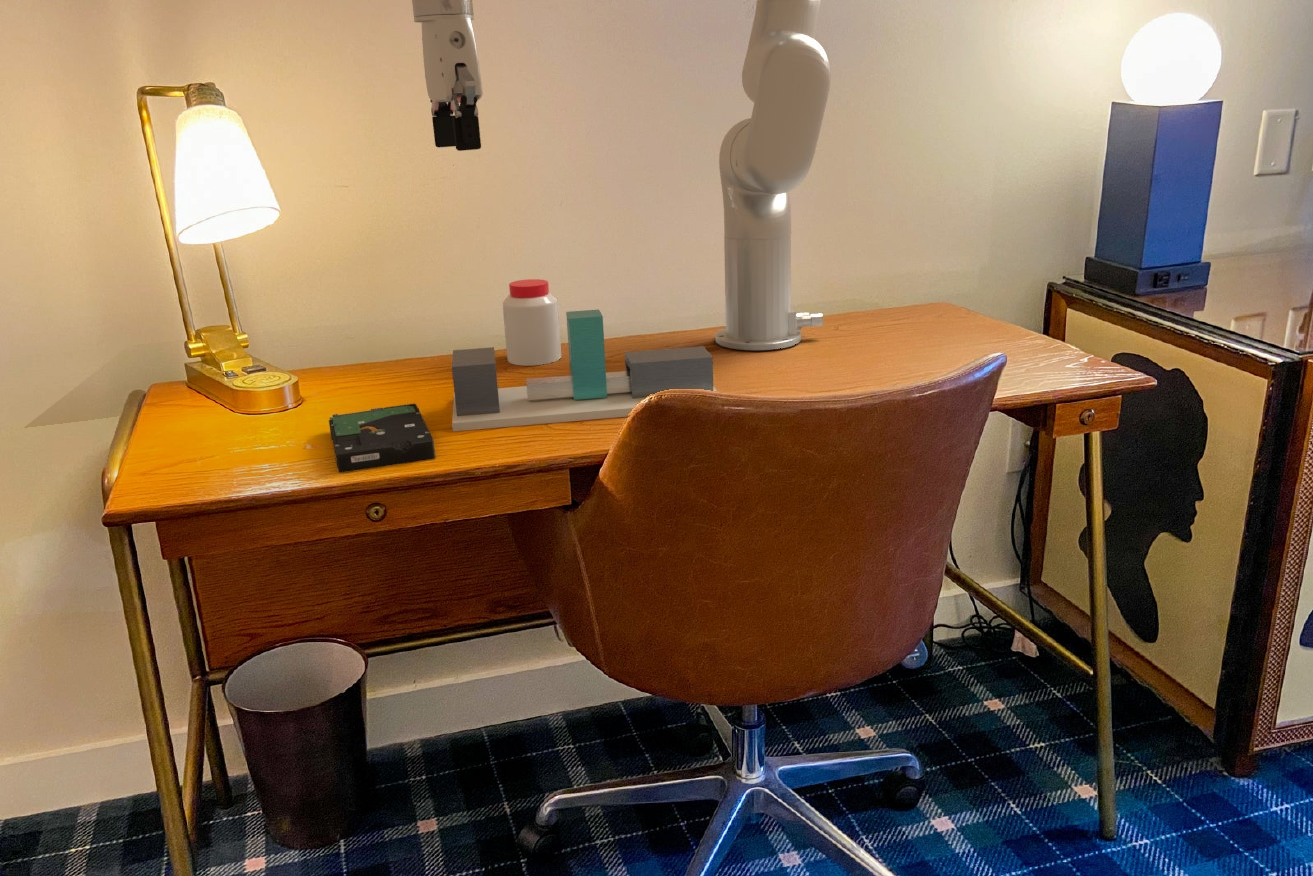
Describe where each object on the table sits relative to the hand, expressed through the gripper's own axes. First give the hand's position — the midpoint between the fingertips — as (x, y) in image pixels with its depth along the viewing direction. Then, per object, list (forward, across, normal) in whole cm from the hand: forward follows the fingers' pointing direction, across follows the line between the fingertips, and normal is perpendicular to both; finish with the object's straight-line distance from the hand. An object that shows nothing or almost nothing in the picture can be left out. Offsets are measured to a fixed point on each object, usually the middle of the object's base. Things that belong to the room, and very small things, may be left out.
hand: (457, 148), depth 141 cm
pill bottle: (+30, -1, -8) cm, 31 cm away
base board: (+30, -25, -5) cm, 39 cm away
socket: (+29, -21, +7) cm, 36 cm away
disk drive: (+30, -27, +20) cm, 45 cm away
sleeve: (+30, -28, -15) cm, 44 cm away
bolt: (+29, -26, -9) cm, 40 cm away
